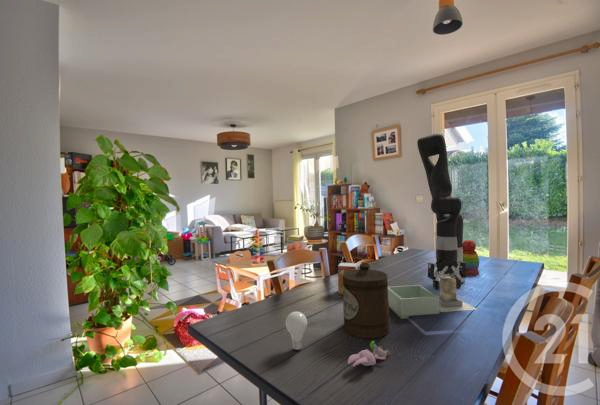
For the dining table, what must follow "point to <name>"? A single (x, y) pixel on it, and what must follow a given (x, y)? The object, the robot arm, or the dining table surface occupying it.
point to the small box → (341, 269)
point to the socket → (454, 305)
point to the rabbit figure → (368, 356)
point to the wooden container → (366, 302)
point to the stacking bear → (470, 257)
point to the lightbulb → (296, 328)
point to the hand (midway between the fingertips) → (446, 289)
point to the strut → (448, 288)
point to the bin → (412, 301)
